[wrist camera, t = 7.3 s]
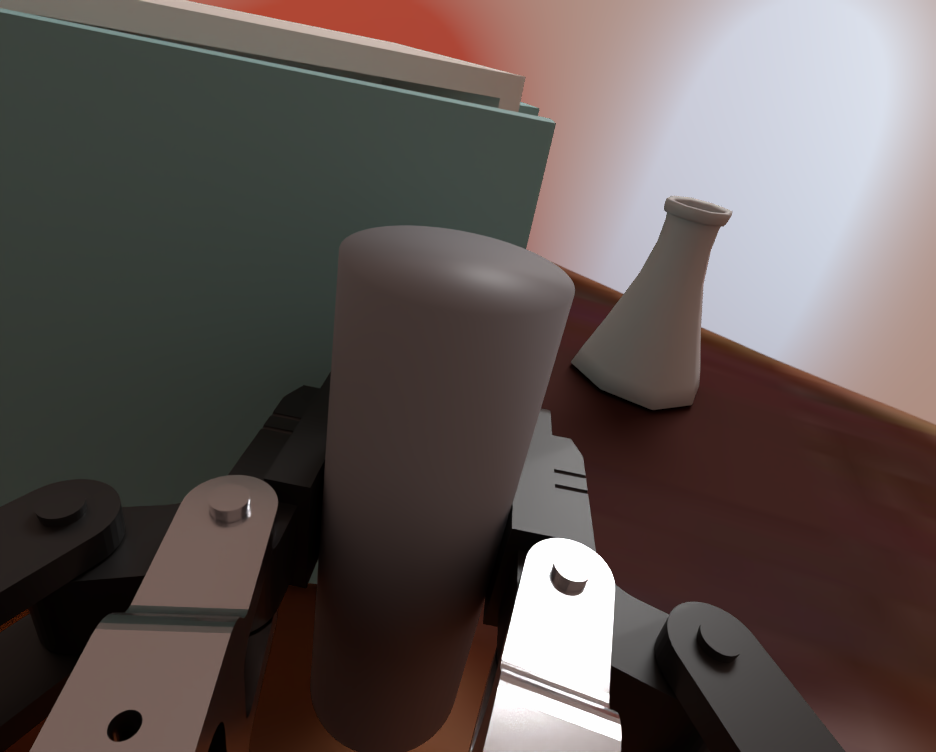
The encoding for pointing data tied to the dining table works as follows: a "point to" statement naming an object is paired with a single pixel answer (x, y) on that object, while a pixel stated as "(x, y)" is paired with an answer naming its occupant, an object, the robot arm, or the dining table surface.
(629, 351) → the flask
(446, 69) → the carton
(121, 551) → the robot arm
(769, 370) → the dining table surface
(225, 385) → the flap
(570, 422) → the dining table surface
